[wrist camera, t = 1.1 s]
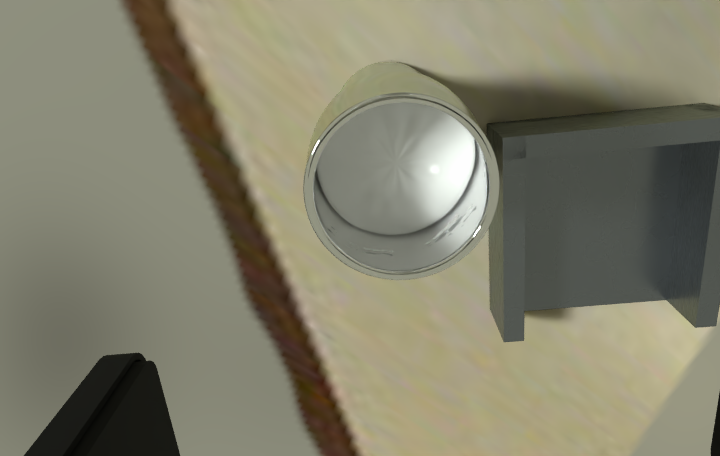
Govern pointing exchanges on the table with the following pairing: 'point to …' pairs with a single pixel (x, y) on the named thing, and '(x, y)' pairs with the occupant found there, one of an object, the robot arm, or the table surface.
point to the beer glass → (399, 175)
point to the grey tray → (607, 213)
